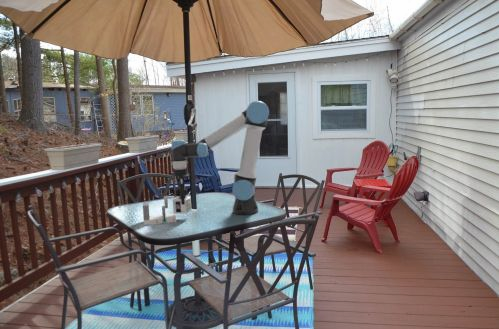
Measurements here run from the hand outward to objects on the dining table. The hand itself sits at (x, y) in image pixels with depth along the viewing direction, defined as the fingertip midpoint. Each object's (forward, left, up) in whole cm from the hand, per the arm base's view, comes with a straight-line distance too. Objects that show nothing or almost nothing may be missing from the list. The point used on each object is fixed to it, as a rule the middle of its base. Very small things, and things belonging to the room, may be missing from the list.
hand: (182, 207), depth 211 cm
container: (0, 0, -3) cm, 3 cm away
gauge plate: (+10, 0, -5) cm, 11 cm away
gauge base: (+13, 0, -6) cm, 14 cm away
